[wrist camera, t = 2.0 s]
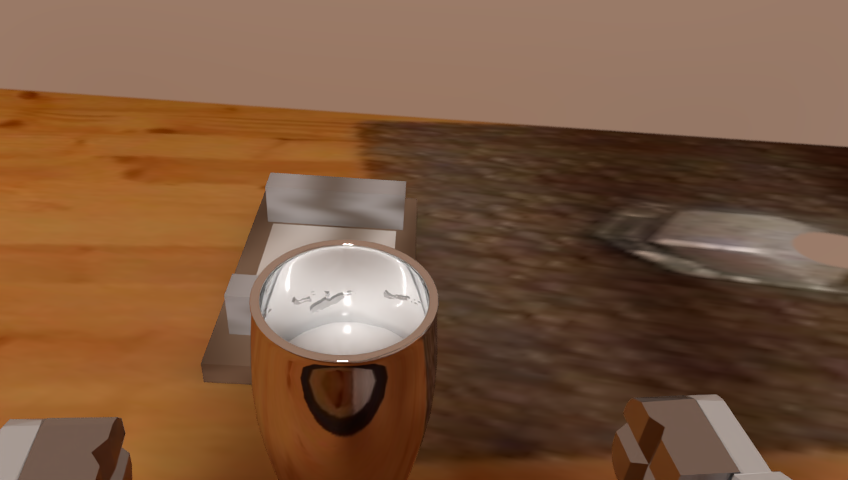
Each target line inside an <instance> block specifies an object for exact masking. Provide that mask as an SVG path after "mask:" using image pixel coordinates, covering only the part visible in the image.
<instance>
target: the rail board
mask: <svg viewBox="0 0 848 480" xmlns="http://www.w3.org/2000/svg"><path fill="white" fill-rule="evenodd" d="M265 188H266V191H265V193H264V196H263V199H262V202H261V204H260V207H259V210H258V212H257V215H256V218H255V220H254V223H253V226H252V228H251V231H250V234H249V236H248V239H247V242H246V244H245V247H244V250H243V252H242V255H241V258H240V260H239V263H238V266H237V268H236V271H235V274H232V277H231V279H230V282H229V285H228V287H227V290H226V293H225V295H224V297H225V301H224V303H223V306H222V309H221V311H220V314H219V317H218V319H217V322H216V325H215V327H214V330H213V333H212V335H211V338H210V341H209V343H208V346H207V349H206V351H205V354H204V357H203V359H202V362H201V367H202V373H203V379H204V382H215V383H234V384H252V382H251V366H250V330H251V312H250V305H249V300H250V293H251V289H252V287H253V284H254V282H255V280H256V279H257V277H258V276H259V274H260V273H261V272H262V271H263V270H264V269H265V268H266V267H267V266H268V265H269V264H270V263H271V262H272V261H274V260H275V259H277V258H278V257H280V256H281V255H283V254H285V253H287V252H289V251H291V250H293V249H296V248H298V247H301V246H304V245H308V244H312V243H316V242H321V241H328V240H362V241H369V242H374V243H378V244H382V245H386V246H389V247H391V248H394V249H396V250H399V251H401V252H403V253H405V254H407V255H408V256H410V257H411V258H413V259H414V260H416V223H417V199H414V198H405V189H406V182H405V181H389V180H374V179H359V178H343V177H328V176H313V175H297V174H282V173H270V176H269V179H268V181H267V184H266V187H265Z"/></svg>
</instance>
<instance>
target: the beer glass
mask: <svg viewBox="0 0 848 480" xmlns="http://www.w3.org/2000/svg"><path fill="white" fill-rule="evenodd" d="M249 305H250V312H251V330H250V366H251V382H252V393H253V399H254V406H255V412H256V418H257V422H258V426H259V429H260V432H261V436H262V439H263V442H264V446H265V448H266V451H267V454H268V456H269V459H270V461H271V464H272V467H273V469H274V472H275V474H276V476H277V479H278V480H408V477H409V475H410V472H411V470H412V468H413V465H414V463H415V460H416V457H417V455H418V452H419V450H420V447H421V444H422V442H423V438H424V435H425V432H426V428H427V425H428V422H429V418H430V414H431V408H432V402H433V396H434V390H435V381H436V368H437V311H438V305H439V297H438V292H437V288H436V285H435V283H434V281H433V279H432V277H431V276H430V274H429V273H428V272H427V271H426V270H425V268H424V267H423V266H422V265H421V264H419V263H418V262H417V261H416V260H414V259H413V258H411V257H410V256H408V255H407V254H405V253H403V252H401V251H399V250H396V249H394V248H391V247H389V246H386V245H382V244H378V243H374V242H369V241H362V240H328V241H321V242H316V243H312V244H308V245H304V246H301V247H298V248H296V249H293V250H291V251H289V252H287V253H285V254H283V255H281V256H280V257H278V258H277V259H275V260H274V261H272V262H271V263H270V264H269V265H268V266H267V267H266V268H265V269H264V270H263V271H262V272H261V273H260V274H259V276H258V277H257V279H256V280H255V282H254V284H253V287H252V289H251V293H250V300H249Z"/></svg>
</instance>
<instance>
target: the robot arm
mask: <svg viewBox="0 0 848 480" xmlns="http://www.w3.org/2000/svg"><path fill="white" fill-rule="evenodd" d="M623 414H624V416H625V418H626V421H627V423H626V424H625V425H624V426H623V427H621V428H620V429H619V430H618V431H616V434H615V437H614V441H613V444H612V462H613V466H614V471H615V474H616V477H617V479H618V480H792V479H790V478H789V477H787V476H786V475H784V474H783V473H781V472H772V471H771V470H770V468H769V467H768V465H767V464H766V462H765V461H764V459H763V458H762V456H761V455H760V453H759V452H758V450H757V449H756V447H755V446H754V444H753V443H752V442H751V440H750V439H749V437H748V436H747V434H746V433H745V431H744V430H743V428H742V427H741V425H740V424H739V422H738V421H737V419H736V418H735V416H734V415H733V413H732V412H731V410H730V409H729V407H728V406H727V404H726V403H725V401H724V400H723V399H722V398H721V397H719V396H718V395H716V394H714V395H689V396H684V395H682V396H662V397H641V398H632V399H631V400H630V401H629V402H628V403H627V405H626V407H625V410H624V412H623ZM124 436H125V430H124V426H123V422H122V419H121V418H118V417H103V418H47V419H10V420H9V421H8V422H7V423H6V424H5V425H4V426H3V427H2V428H1V429H0V480H132V463H131V458H130V453H129V452H127V451H126V450H124V449H123V448H122V444H123V440H124Z"/></svg>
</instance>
